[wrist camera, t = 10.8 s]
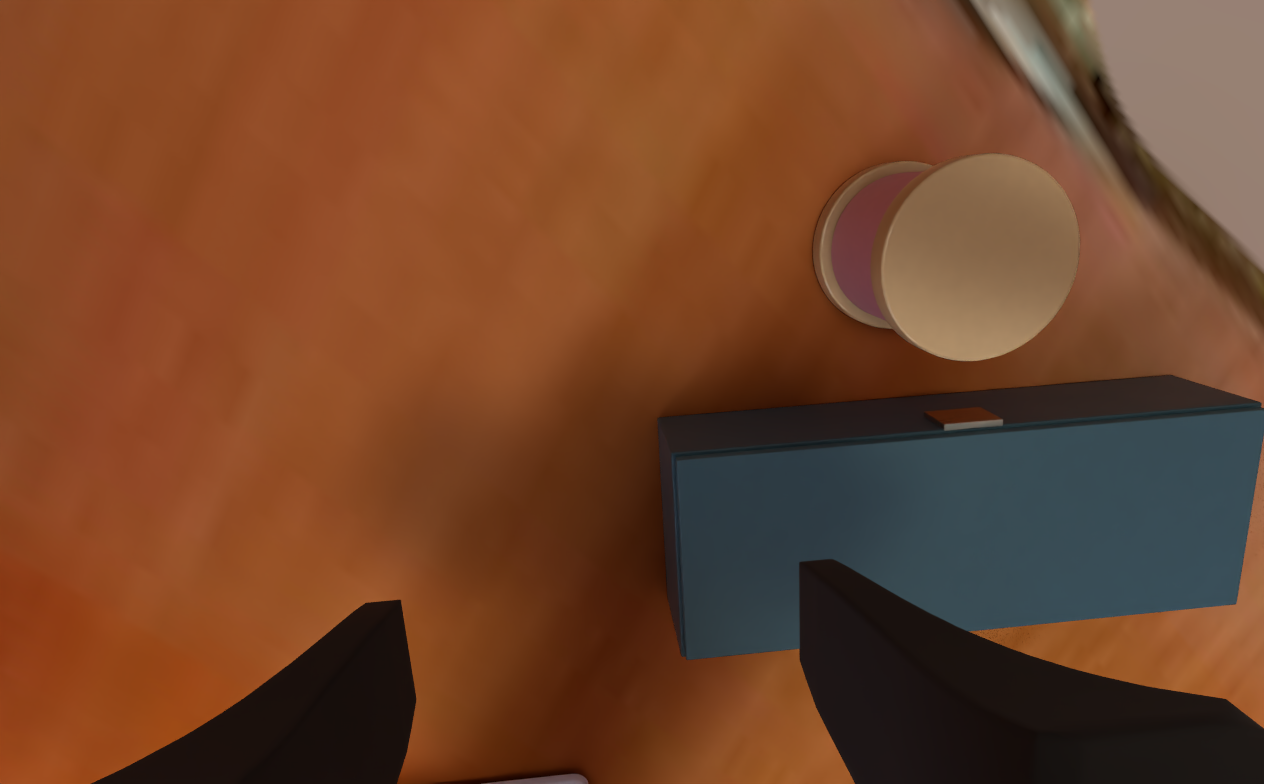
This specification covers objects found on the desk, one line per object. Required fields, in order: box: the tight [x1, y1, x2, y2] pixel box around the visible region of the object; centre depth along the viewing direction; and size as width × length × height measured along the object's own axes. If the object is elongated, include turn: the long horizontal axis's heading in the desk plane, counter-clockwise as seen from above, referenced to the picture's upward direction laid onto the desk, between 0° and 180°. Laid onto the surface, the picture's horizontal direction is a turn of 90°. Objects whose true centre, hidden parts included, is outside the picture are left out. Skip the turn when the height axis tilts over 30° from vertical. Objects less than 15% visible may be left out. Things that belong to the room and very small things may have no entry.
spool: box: [813, 153, 1080, 361], centre depth 19 cm, size 5×5×5 cm
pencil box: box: [657, 375, 1264, 660], centre depth 22 cm, size 16×6×4 cm, turn 94°
